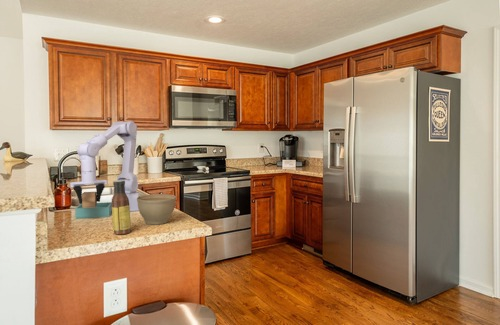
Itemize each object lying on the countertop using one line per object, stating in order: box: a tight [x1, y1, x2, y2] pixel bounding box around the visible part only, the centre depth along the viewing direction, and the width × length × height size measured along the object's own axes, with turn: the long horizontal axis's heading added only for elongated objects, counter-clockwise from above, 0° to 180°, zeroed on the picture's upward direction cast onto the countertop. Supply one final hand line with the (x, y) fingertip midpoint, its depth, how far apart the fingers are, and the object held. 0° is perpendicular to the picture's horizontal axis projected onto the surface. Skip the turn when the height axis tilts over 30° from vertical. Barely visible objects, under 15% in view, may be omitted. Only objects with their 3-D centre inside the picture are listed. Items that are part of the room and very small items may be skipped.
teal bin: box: [74, 201, 112, 219], centre depth 160 cm, size 14×12×4 cm
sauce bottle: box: [111, 179, 132, 236], centre depth 128 cm, size 6×6×20 cm
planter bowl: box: [137, 193, 177, 225], centre depth 146 cm, size 16×16×11 cm
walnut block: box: [82, 191, 98, 208], centre depth 148 cm, size 5×5×6 cm
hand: (89, 202), depth 148 cm, fingers closed on walnut block, 6 cm apart
